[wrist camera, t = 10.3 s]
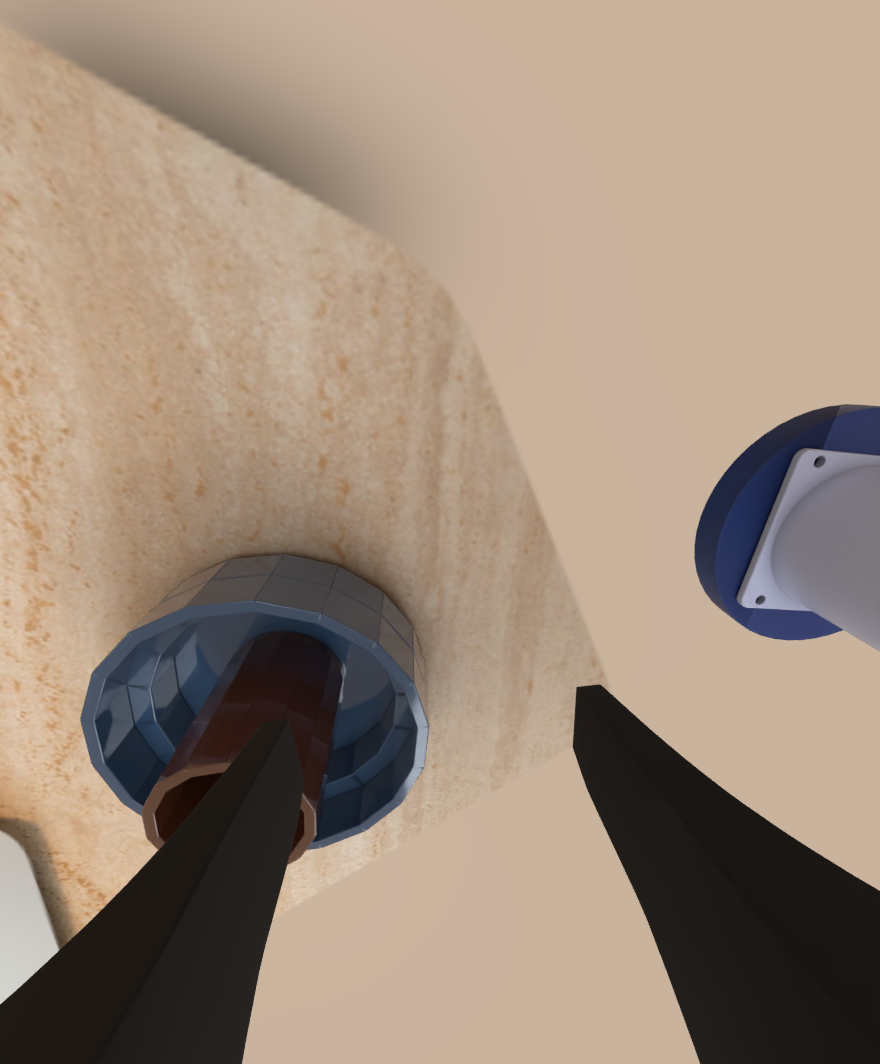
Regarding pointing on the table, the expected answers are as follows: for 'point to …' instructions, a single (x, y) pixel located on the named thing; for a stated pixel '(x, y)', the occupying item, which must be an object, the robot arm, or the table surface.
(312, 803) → the cup
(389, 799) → the bowl
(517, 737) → the table surface
